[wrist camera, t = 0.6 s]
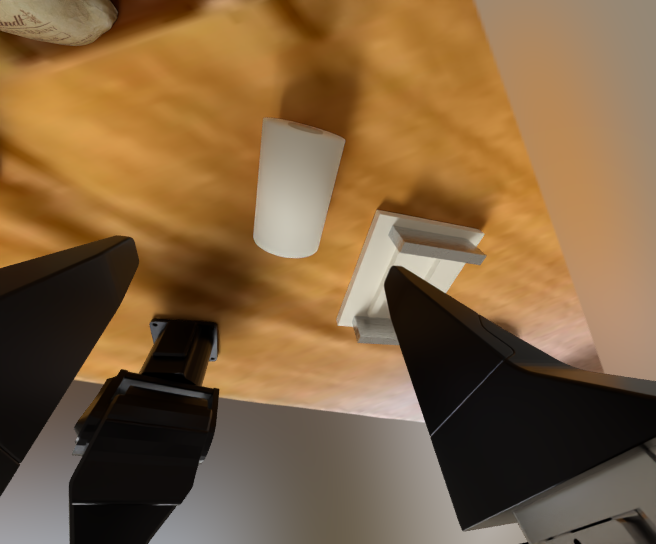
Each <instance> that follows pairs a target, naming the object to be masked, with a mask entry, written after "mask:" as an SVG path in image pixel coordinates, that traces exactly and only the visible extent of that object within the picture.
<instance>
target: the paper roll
mask: <svg viewBox="0 0 656 544" xmlns="http://www.w3.org/2000/svg"><path fill="white" fill-rule="evenodd" d="M344 145H345V139H344V138H342V137H340V136H338V135H336V134H333V133H331V132H328V131H325V130H322V129H319V128H316V127H312V126H308V125H305V124H301V123H297V122H293V121H288V120H283V119H278V118H268V117H267V118H263V126H262V138H261V150H260V162H259V174H258V185H257V197H256V209H255V221H254V233H253V239H254V241H255V243H256V244H257V245H258V246H259V247H260V248H261V249H263V250H265V251H267V252H268V253H271V254H274V255H277V256H281V257H286V258H303V257H308V256H311V255H313V254H314V253H315V252H316V251H317V250H318V247H319V243H320V239H321V235H322V231H323V227H324V223H325V219H326V215H327V212H328V208H329V204H330V200H331V196H332V192H333V188H334V184H335V180H336V176H337V172H338V168H339V164H340V160H341V156H342V152H343V148H344Z"/></svg>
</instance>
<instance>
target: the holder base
mask: <svg viewBox="0 0 656 544" xmlns="http://www.w3.org/2000/svg"><path fill="white" fill-rule="evenodd" d="M392 225H393V226H399V227H404V228H410V229H415V230H421V231H426V232H432V233H437V234H443V235H448V236H454V237H460V238H465V239H468V240H469V241H470V242H471V243H473V244H474V245H475V246H476V247H477V245H478V243H479V242H480V240H481V239H482V237H483V236H484V233H483V232H481V231H480V230H479V229H475V228H470V227H465V226H459V225H454V224H449V223H444V222H439V221H434V220H428V219H423V218H418V217H413V216H408V215H403V214H398V213H392V212H387V211H382V210H376V213H375V216H374V218H373V221H372V224H371V226H370V229H369V232H368V235H367V237H366V240H365V243H364V246H363V248H362V251H361V254H360V256H359V259H358V262H357V265H356V267H355V270H354V273H353V275H352V278H351V281H350V284H349V286H348V289H347V292H346V294H345V297H344V300H343V303H342V305H341V308H340V311H339V314H338V316H337V319H336V320H337V324H338V326H351V327H353V324H352V320H353V318H354V316H365V317H370V318H376V317H377V318H389V319H391V318H390V313H389V309H388V304H387V299H386V295H385V290H384V282H385V279H386V277H387V274H388V272H389V270H390V268H391V266H393V265H395V266H402V267H404V268H406V269H407V270H409V271H411V272H412V273H414V274H415V275H417V276H419V277H420V278H422V279H423V280H425V281H427V282H428V283H430V284H431V285H433V286H435V287H436V288H438V289H439V290H441V291H443V292H444V293H446V292H447V291H448V289H449V288H450V286H451V284H452V283H453V281H454V280H455V278H456V277H457V275H458V274H459V272H460V271H461V269H462V268H463V266H464V265H465V263H463V262H457V261H450V260H444V259H437V258H431V257H424V256H418V255H411V254H404V253H400V252H399V251H398V249H397V248H396V246H395V245H394V243H393V242H392V240H391V239H390V237H389V236H388V234H389V232H390V230H391V227H392Z"/></svg>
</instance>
